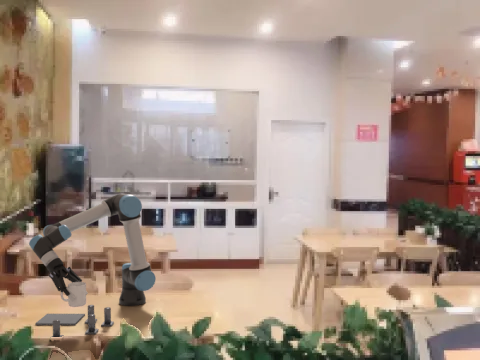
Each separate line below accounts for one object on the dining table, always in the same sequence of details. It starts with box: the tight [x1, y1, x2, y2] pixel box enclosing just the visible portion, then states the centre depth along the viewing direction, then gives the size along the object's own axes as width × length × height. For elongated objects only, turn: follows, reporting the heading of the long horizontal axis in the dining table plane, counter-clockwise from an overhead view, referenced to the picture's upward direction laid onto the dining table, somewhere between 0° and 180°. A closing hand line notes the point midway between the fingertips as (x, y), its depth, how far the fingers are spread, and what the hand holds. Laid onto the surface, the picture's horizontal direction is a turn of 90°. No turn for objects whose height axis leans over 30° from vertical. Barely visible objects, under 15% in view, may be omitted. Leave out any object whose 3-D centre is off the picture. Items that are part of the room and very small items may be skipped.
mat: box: [34, 313, 86, 326], centre depth 264 cm, size 20×16×1 cm
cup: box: [60, 281, 87, 308], centre depth 247 cm, size 8×12×10 cm
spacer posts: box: [51, 304, 115, 337], centre depth 248 cm, size 23×29×8 cm
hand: (80, 297), depth 247 cm, fingers closed on cup, 8 cm apart
